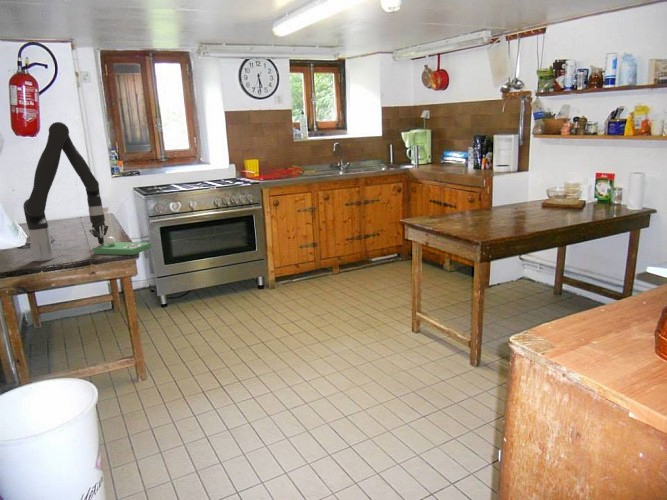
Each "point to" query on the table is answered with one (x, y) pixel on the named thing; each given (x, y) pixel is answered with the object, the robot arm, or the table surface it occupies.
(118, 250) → the green
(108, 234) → the milk
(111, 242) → the ball
